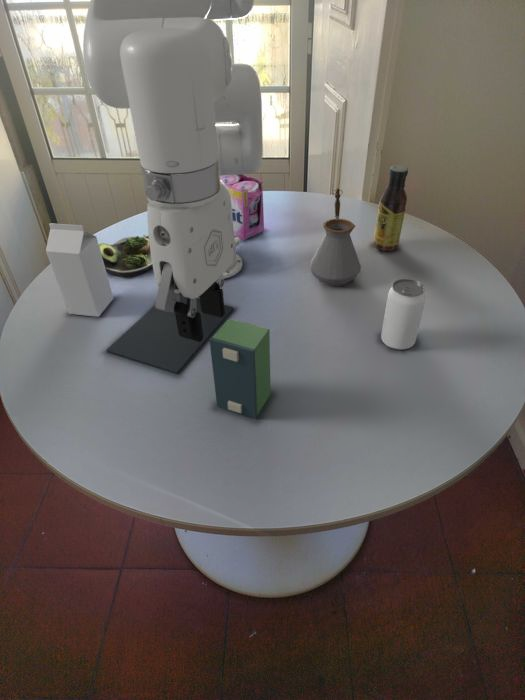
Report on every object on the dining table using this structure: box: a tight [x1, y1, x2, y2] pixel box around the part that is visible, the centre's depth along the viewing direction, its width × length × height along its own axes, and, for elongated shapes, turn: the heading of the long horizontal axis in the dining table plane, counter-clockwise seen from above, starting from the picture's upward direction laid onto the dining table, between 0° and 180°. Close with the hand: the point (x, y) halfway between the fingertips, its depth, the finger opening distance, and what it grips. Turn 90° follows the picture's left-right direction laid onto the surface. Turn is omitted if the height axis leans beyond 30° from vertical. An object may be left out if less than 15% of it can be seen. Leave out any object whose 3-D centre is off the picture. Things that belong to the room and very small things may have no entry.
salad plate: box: [98, 234, 153, 278], centre depth 117 cm, size 19×18×5 cm
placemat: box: [106, 295, 234, 375], centre depth 94 cm, size 22×16×1 cm
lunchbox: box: [208, 318, 271, 420], centre depth 74 cm, size 6×7×14 cm
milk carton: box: [45, 222, 114, 318], centre depth 95 cm, size 7×7×19 cm
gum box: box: [220, 174, 265, 241], centre depth 126 cm, size 24×8×14 cm, turn 45°
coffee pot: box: [309, 188, 362, 287], centre depth 107 cm, size 21×12×15 cm, turn 174°
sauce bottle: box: [373, 164, 409, 252], centre depth 112 cm, size 7×6×20 cm
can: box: [380, 278, 426, 351], centre depth 86 cm, size 6×6×12 cm
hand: (202, 324), depth 58 cm, fingers open, 4 cm apart
